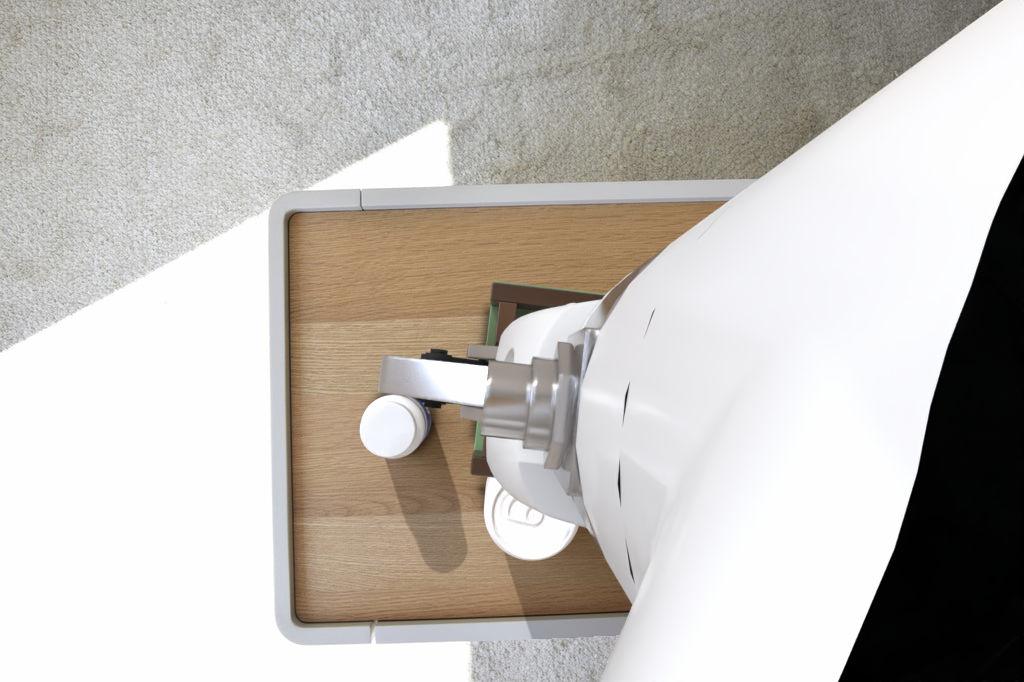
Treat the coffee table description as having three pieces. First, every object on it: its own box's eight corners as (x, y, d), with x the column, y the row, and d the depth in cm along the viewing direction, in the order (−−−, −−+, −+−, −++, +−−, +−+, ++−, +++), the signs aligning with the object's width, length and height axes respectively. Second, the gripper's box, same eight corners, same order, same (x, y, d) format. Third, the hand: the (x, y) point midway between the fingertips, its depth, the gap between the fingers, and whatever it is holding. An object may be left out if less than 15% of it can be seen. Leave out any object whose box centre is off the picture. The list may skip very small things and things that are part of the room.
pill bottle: (373, 448, 65) (350, 462, 55) (375, 390, 65) (354, 394, 55) (431, 450, 65) (419, 464, 55) (433, 392, 65) (422, 396, 55)
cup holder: (661, 493, 39) (680, 507, 35) (471, 472, 39) (468, 484, 35) (680, 304, 40) (701, 297, 36) (493, 282, 40) (493, 272, 36)
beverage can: (551, 540, 65) (564, 579, 53) (474, 514, 65) (469, 547, 53) (578, 462, 65) (596, 483, 53) (501, 436, 65) (502, 451, 53)
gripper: (262, 587, 11) (401, 458, 29) (1221, 689, 12) (792, 501, 29) (317, 167, 12) (422, 288, 29) (1245, 278, 12) (807, 333, 29)
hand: (607, 395), depth 29 cm, fingers open, 9 cm apart
